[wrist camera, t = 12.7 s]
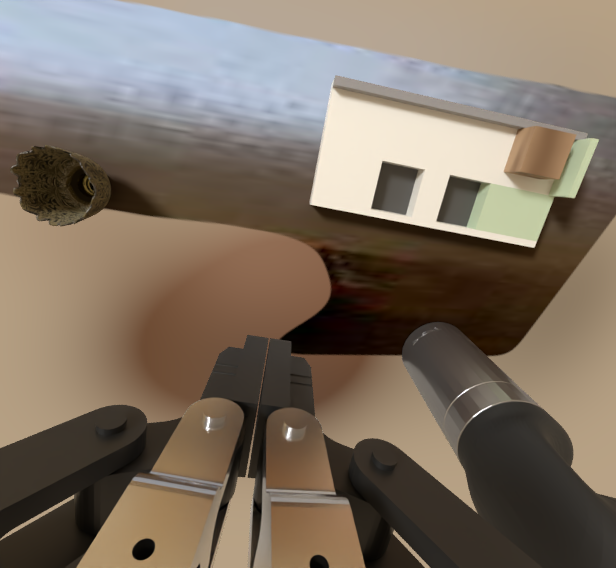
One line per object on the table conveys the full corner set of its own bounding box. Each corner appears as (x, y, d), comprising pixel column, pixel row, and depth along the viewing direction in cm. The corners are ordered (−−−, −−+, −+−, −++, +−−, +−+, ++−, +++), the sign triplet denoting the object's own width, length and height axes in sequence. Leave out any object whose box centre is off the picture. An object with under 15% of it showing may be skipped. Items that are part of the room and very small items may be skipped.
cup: (129, 222, 41) (91, 232, 34) (65, 211, 41) (13, 219, 33) (130, 157, 39) (90, 153, 31) (63, 145, 38) (6, 138, 31)
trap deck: (562, 137, 40) (602, 131, 35) (521, 243, 44) (552, 253, 39) (331, 84, 37) (337, 69, 32) (309, 202, 41) (311, 206, 36)
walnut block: (555, 137, 38) (576, 134, 35) (539, 179, 39) (559, 179, 36) (517, 129, 37) (536, 125, 34) (503, 171, 39) (520, 171, 36)
